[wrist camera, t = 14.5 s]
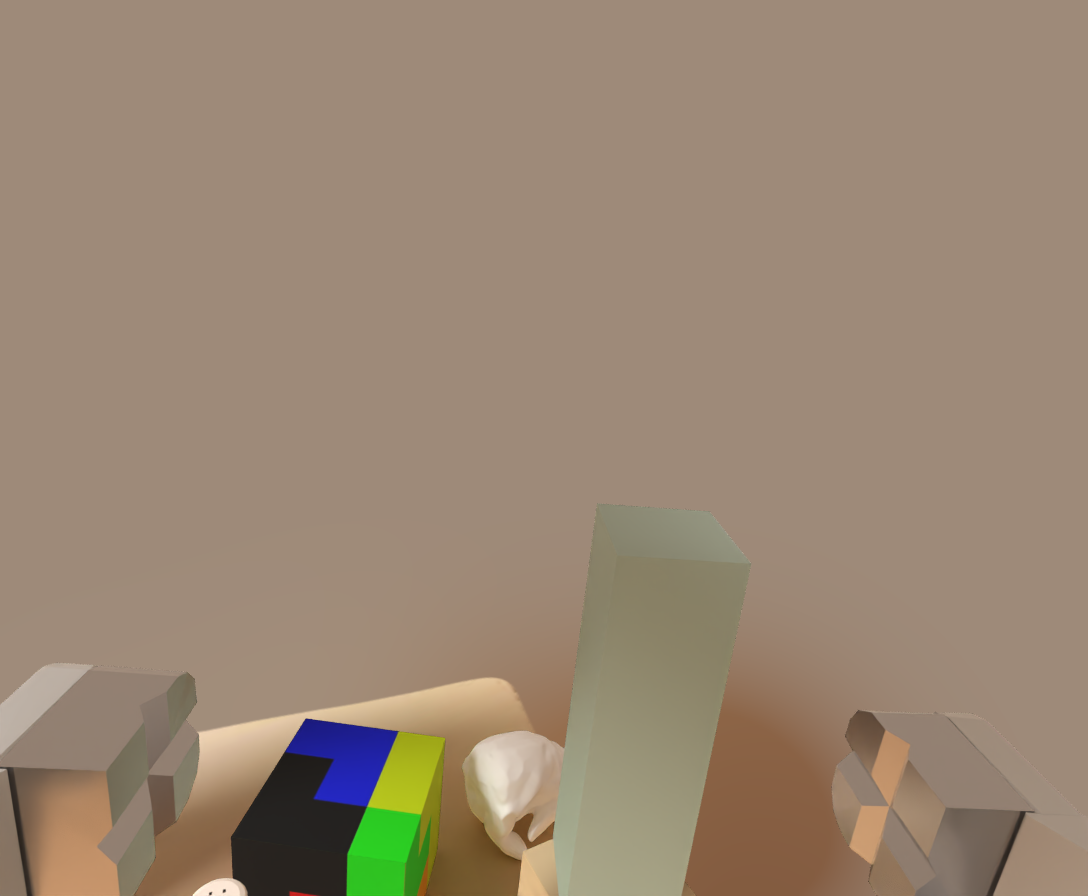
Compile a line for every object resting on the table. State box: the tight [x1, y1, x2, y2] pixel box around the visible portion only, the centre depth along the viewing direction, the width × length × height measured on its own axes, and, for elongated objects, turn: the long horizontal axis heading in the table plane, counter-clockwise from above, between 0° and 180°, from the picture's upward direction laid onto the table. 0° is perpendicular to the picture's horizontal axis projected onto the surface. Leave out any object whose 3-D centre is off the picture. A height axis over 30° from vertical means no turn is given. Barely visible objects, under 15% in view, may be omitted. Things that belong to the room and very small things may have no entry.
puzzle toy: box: [231, 719, 445, 896], centre depth 43 cm, size 10×10×10 cm
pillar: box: [553, 504, 751, 896], centre depth 32 cm, size 6×6×20 cm
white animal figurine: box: [462, 731, 565, 860], centre depth 52 cm, size 6×8×12 cm
